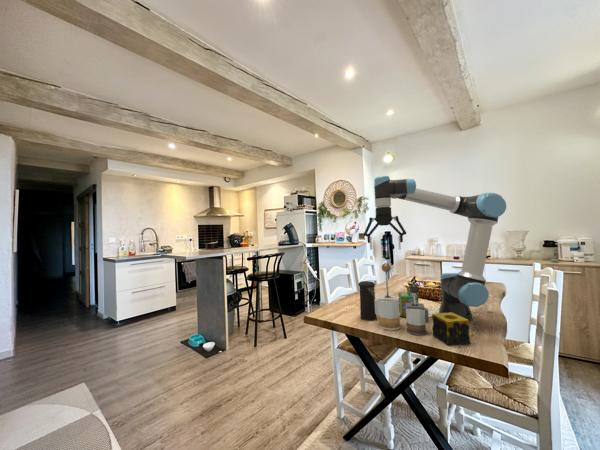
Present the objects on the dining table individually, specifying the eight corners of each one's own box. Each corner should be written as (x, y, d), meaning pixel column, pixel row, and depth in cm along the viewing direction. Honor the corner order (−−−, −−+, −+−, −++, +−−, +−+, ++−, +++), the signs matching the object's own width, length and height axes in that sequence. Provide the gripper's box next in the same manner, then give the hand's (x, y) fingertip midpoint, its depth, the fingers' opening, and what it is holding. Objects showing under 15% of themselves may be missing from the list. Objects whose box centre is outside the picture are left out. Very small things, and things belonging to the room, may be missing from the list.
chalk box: (398, 312, 143) (397, 286, 143) (415, 312, 141) (414, 286, 141) (401, 317, 134) (400, 290, 134) (419, 318, 132) (418, 290, 132)
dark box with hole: (432, 335, 110) (430, 313, 111) (453, 333, 111) (452, 311, 112) (447, 346, 100) (446, 321, 100) (470, 344, 101) (469, 319, 101)
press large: (400, 323, 126) (398, 294, 126) (400, 331, 116) (399, 300, 117) (376, 321, 130) (375, 293, 131) (375, 329, 120) (373, 299, 121)
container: (377, 321, 130) (375, 283, 131) (360, 320, 132) (358, 283, 132) (376, 315, 139) (374, 280, 139) (359, 315, 140) (357, 280, 141)
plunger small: (420, 318, 116) (418, 283, 117) (420, 321, 113) (418, 285, 113) (410, 317, 118) (408, 283, 118) (411, 320, 114) (409, 284, 114)
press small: (427, 329, 117) (426, 303, 117) (430, 336, 109) (428, 308, 110) (406, 327, 120) (404, 301, 121) (407, 334, 113) (405, 307, 113)
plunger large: (392, 297, 125) (390, 262, 125) (392, 300, 121) (390, 263, 121) (383, 297, 126) (381, 262, 127) (383, 299, 122) (381, 263, 123)
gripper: (409, 205, 123) (411, 248, 123) (358, 209, 132) (360, 248, 132) (410, 204, 116) (412, 249, 116) (357, 208, 125) (359, 250, 125)
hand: (385, 249), depth 124 cm, fingers open, 13 cm apart
